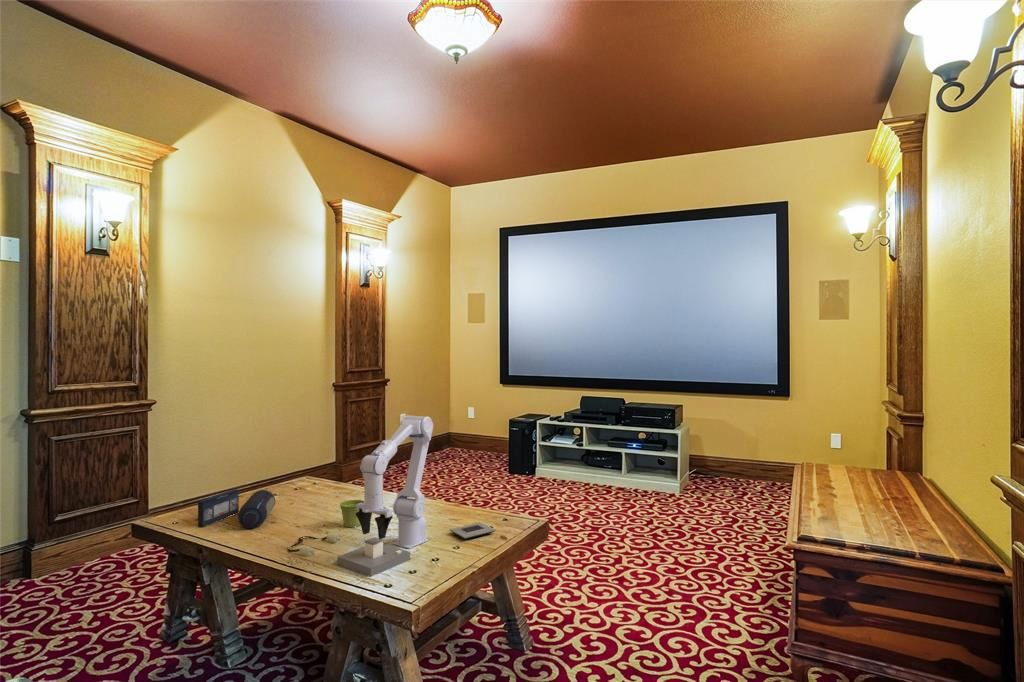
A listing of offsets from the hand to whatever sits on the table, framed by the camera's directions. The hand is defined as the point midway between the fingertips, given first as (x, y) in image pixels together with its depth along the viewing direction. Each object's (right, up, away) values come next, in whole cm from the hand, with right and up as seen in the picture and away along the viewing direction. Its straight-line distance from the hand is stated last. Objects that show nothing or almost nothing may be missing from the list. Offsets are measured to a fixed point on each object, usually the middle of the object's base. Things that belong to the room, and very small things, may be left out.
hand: (374, 535), depth 181 cm
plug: (0, -8, 0) cm, 8 cm away
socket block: (0, -8, 0) cm, 8 cm away
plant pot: (-17, -9, +36) cm, 41 cm away
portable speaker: (-56, -9, +43) cm, 71 cm away
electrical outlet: (+30, -9, +25) cm, 40 cm away
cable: (-26, -9, +14) cm, 31 cm away
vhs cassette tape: (-72, -9, +44) cm, 85 cm away
